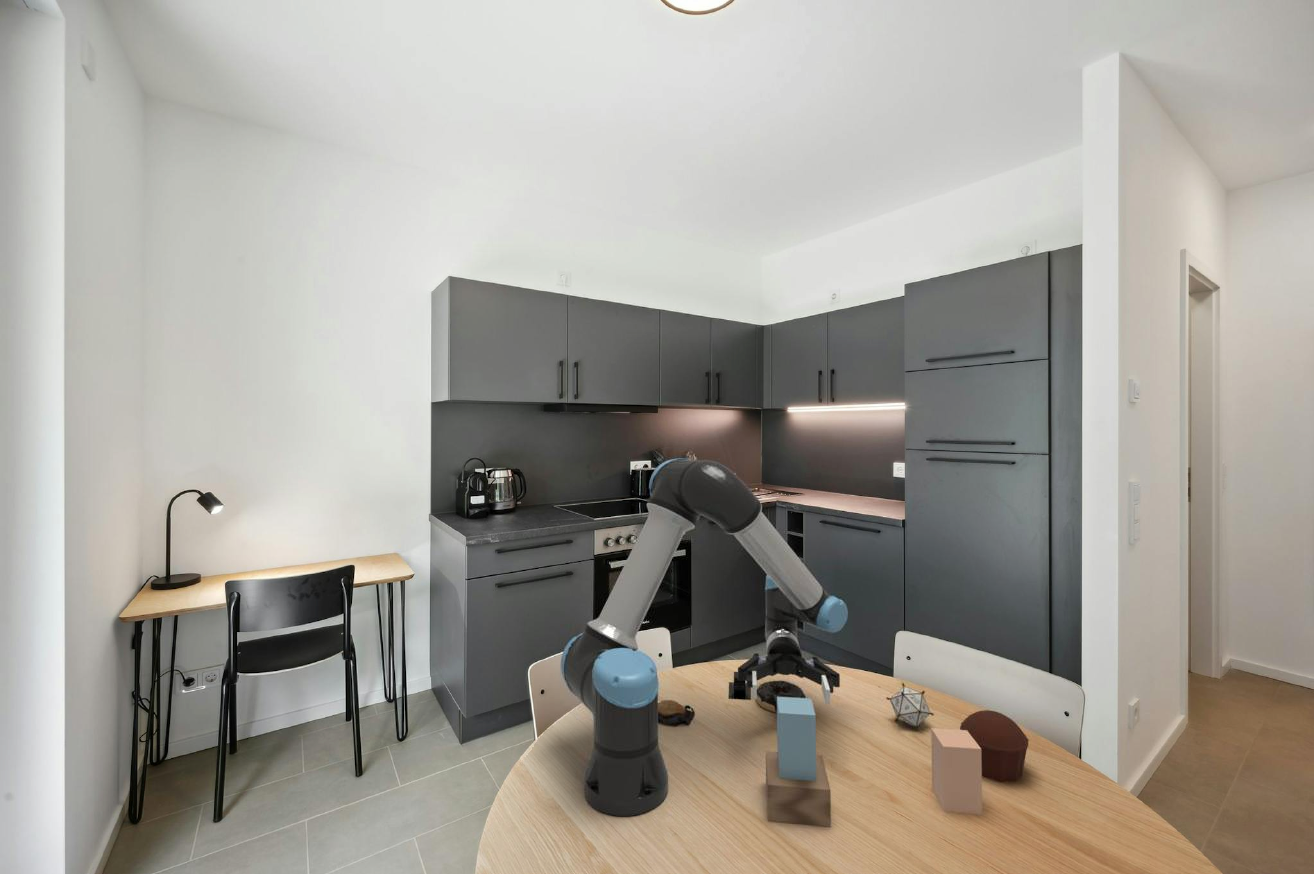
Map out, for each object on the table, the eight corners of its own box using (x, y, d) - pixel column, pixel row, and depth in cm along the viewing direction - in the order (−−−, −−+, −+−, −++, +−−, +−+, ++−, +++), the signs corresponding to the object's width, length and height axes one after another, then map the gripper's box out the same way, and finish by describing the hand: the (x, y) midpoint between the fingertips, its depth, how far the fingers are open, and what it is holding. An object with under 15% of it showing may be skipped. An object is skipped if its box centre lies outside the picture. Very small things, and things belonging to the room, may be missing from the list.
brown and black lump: (642, 725, 125) (642, 709, 125) (652, 707, 133) (652, 692, 133) (689, 731, 122) (689, 714, 122) (696, 712, 131) (696, 696, 131)
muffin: (964, 745, 115) (964, 696, 115) (1029, 762, 109) (1029, 711, 109) (956, 774, 105) (956, 720, 105) (1027, 795, 99) (1027, 738, 99)
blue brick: (779, 778, 95) (778, 712, 95) (777, 758, 101) (776, 696, 101) (816, 781, 94) (815, 715, 94) (811, 760, 100) (811, 698, 100)
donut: (775, 689, 142) (774, 673, 142) (816, 706, 133) (815, 689, 133) (746, 703, 134) (746, 686, 134) (788, 722, 125) (788, 704, 125)
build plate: (754, 706, 134) (754, 687, 134) (723, 704, 135) (723, 685, 135) (753, 683, 146) (753, 665, 146) (725, 681, 147) (725, 663, 147)
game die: (919, 741, 123) (950, 710, 121) (898, 738, 119) (929, 706, 116) (892, 705, 131) (920, 676, 128) (871, 701, 126) (900, 671, 124)
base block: (768, 820, 93) (767, 784, 93) (766, 783, 103) (765, 751, 103) (830, 826, 91) (830, 789, 91) (822, 788, 101) (822, 755, 101)
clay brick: (943, 811, 95) (943, 746, 95) (931, 789, 101) (931, 728, 101) (981, 814, 94) (981, 749, 94) (967, 792, 100) (967, 730, 100)
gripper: (728, 633, 130) (724, 670, 109) (840, 638, 126) (859, 678, 105) (728, 665, 130) (725, 709, 109) (840, 672, 126) (859, 719, 105)
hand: (791, 694), depth 107 cm, fingers open, 13 cm apart
